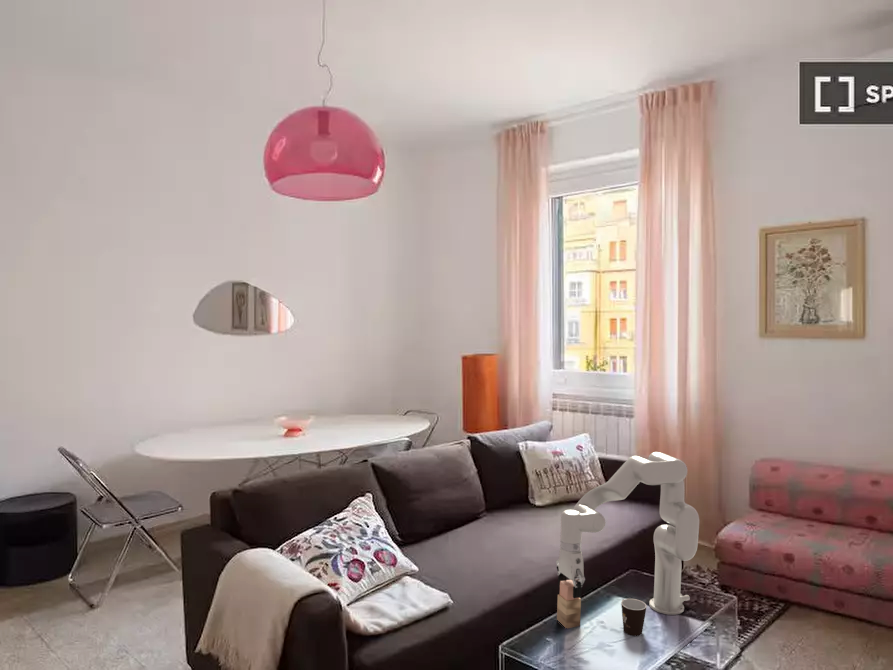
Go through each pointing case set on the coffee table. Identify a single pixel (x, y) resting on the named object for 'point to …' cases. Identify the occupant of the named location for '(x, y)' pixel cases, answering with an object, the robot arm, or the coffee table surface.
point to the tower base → (568, 619)
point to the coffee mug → (633, 616)
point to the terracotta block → (567, 589)
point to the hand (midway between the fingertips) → (569, 591)
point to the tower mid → (569, 605)
